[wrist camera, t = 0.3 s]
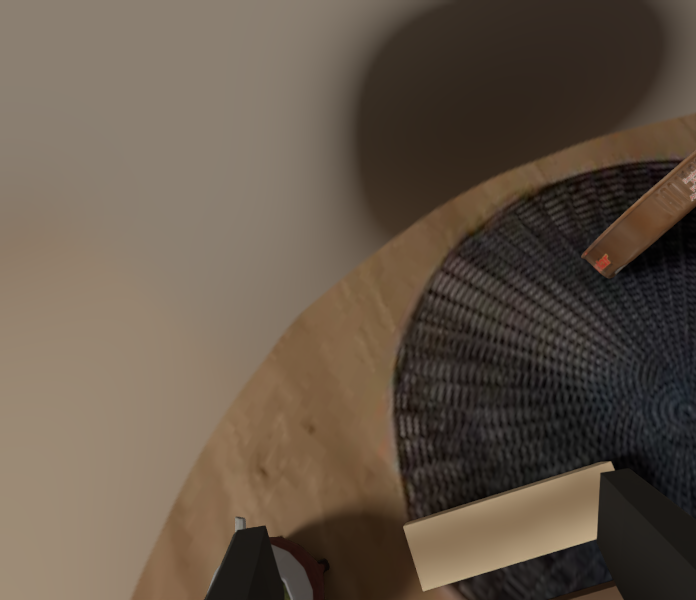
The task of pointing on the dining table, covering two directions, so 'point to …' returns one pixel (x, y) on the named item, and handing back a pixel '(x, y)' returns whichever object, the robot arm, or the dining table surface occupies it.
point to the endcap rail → (594, 593)
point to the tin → (645, 220)
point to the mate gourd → (294, 568)
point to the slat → (506, 527)
